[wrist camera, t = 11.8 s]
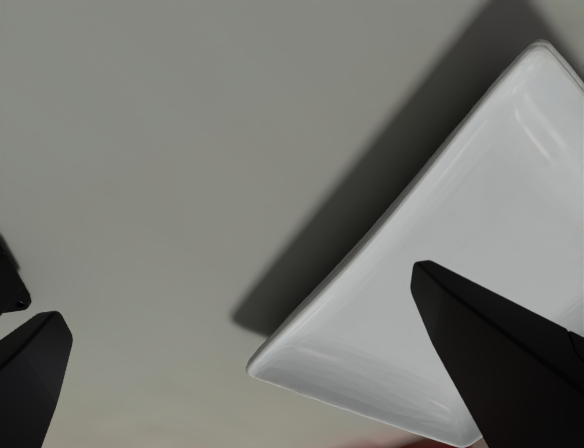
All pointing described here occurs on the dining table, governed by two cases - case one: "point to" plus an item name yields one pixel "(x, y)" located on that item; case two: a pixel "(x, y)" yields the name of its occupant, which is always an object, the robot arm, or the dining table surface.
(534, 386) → the robot arm
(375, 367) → the square plate
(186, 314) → the dining table surface
